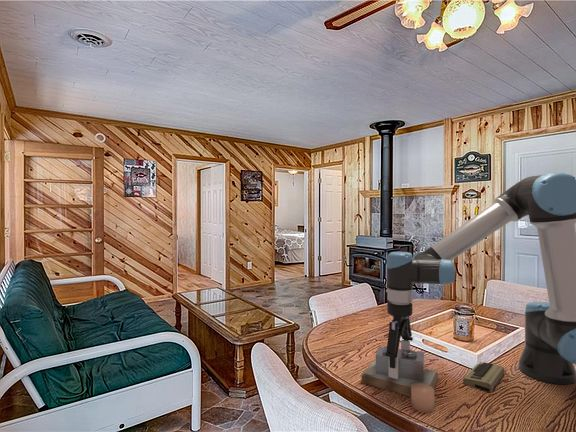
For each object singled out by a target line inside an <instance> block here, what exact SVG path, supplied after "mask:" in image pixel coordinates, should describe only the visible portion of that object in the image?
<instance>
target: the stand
mask: <svg viewBox="0 0 576 432" xmlns="http://www.w3.org/2000/svg"><path fill="white" fill-rule="evenodd" d="M438 381H439V372H437V371H435V370H431V369H427V368H424V382H422V381H416V380H411V379H405V378H399V377H398V379H395V378H391V377H389V376H387V375H381V374H376V358H374V360H373V361H372V363H370V365H369V366H368V367H367V368H366V369H365V370H364V371H363V373H362V374H361V381H360V382H361V384H365V385H369V386H372V387H375V388H379V389H383V390H385V391H389V392H393V393H396V394H400V395H404V396H407V397H410V398H411V385H412V384H415V383H424V384H427V385H430V386H431V387H433V389H434V390H435V388H436V386H437V384H438Z"/></svg>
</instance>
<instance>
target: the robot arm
mask: <svg viewBox="0 0 576 432" xmlns="http://www.w3.org/2000/svg"><path fill="white" fill-rule="evenodd" d="M527 216H528V218H529V223H530V224H531V225H533V226H534V227H535V228H537V235H538V236H537V237H538V241H539V248H540V254H541V259H542V267H543V272H544V277H545V285H546V290H547V291H546V292H547V297H548V301H547V302H546V301H545V302H544V301H531V302H528V303H526V305H525V310H524V314H525V316H524V317H525V318H524V319H525V320H524V322H525V324H524V326H525V327H524V329H525V331H524V333H525V337H524V338H525V339H524V340H525V342H524V343H525V344H524V345H525V346H524V348H523V350H522V352H521V355H520V357H519V359H518V369H519V370H520V371H521V372H522V373H523V374H524V375H527V376H529V377H531V378H533V379H536V380H538V381H542V382H545V383H551V384H555V385H571V384H574V383H576V368H575V365H576V228H575V225H576V177H575V176H573V175H572V174H570V173H565V172H563V173H562V172H549V173H545V174H540V175H532V176H528V177H525V178H522V180H519V181H518V182H516V183H515V184H514V185H512V186H510V187H509V188H508V189H507V190H505V191H503V193H501V194H500V195H499V196H498V195H497V197H496V198H494V202H493V203H492V204H491V205H489V206H488V207H486V208H485V209H484V210H482V211H481V212H479V213H478V214H476V215H474V216H473V217H472V218H470V219H469V220H468V221H466V222H464V223H463V224H461V225H460V226H458V227H457V228H456V229H455V230H453V231H452V232H450V233H449V234H448V235H446V236H444V237H443V238H441V239H440V240H439V241H437V242H436V243H434V244H433V245H431V246H430V247H428V248H426V249H425V250H424V251H420V252H417V253H415V254H414V255H413V254H412V253H411V252H409V251H391V252H389V253H388V254H387V259H386V260H387V263H386V281H387V282H386V284H387V288H386V290H385V292H386V293H387V294H386V295H387V297H386V298H387V299H386V300H387V302H386V303H387V304H386V307H387V309H386V310H387V311H386V312H387V313H388V315H390V316H392V320H391V321H389V325H388V328H389V330H388V335H387V344H386V346H387V350H386V353H385V355H386V356H388V357H389V377H391V378H395V379H398V356H397V354H398V349H402V350H411V342H413V340H414V338H413V337H414V336H413V333H412V327H411V321H410V317H411V316H412V315H413V303H412V302H413V299H414V298H413V284H423V285H441V286H442V285H451V284H453V283H454V282H455V279H456V268H455V267H456V266H455V264H454V262H453V260H455V259H456V258H458V257H460V256H461V255H462V254H464V253H465V252H467V251H468V250H469V249H471V248H473V247H474V246H476V245H477V244H479V243H481V242H482V241H483V240H485V239H486V238H488V237H489V236H490V235H493V234H494V233H495V232H497V231H498V230H500V229H501V228H503V227H505V226H506V225H507V224H508V223H511V222H518V221H519V220H521V219H522V218H524V217H527ZM412 336H413V337H412ZM399 347H400V348H399Z"/></svg>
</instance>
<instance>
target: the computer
mask: <svg viewBox="0 0 576 432" xmlns="http://www.w3.org/2000/svg"><path fill="white" fill-rule="evenodd" d="M479 362H480V363H479V364H478V363H476V364H475V366H473V368H472V369H471V370H470V371H469V372H468V373H467V374H466V375H465V376H464V377H463V379H462V383H463V384H464V385H466V386H469V387H472V388H476V389H478V390H481V391H484V392H488V393H494V392H493V391H494V388H496V387H497V385H498V384H499V383H500V381H501V379H503V376H504V375H505V368H504V366H503V365H500V364H494V363H492V362H491V363H490V362H489V363H488V362H482V361H479Z"/></svg>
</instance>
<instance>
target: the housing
mask: <svg viewBox="0 0 576 432" xmlns="http://www.w3.org/2000/svg"><path fill="white" fill-rule="evenodd" d="M386 350H387V345H384V346H381V345H379V346H378V347H377V350H376V352H375V359H376V374H381V375H387V376H389V357H388V356H386V355H385V353H386ZM397 356H398V377H399V378H405V379H411V380H416V381H422V382H424V369H425V353H424V352H423V351H416V350H412V349H410V350H402V349H401V348H399V349H398V354H397Z"/></svg>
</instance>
